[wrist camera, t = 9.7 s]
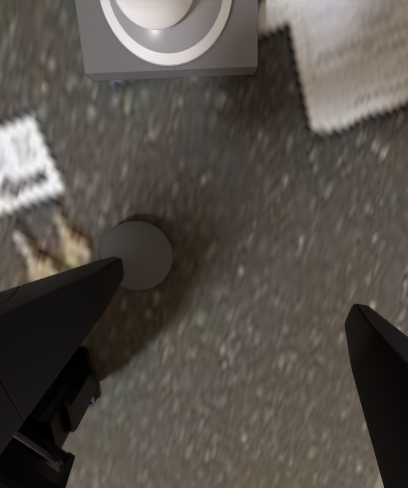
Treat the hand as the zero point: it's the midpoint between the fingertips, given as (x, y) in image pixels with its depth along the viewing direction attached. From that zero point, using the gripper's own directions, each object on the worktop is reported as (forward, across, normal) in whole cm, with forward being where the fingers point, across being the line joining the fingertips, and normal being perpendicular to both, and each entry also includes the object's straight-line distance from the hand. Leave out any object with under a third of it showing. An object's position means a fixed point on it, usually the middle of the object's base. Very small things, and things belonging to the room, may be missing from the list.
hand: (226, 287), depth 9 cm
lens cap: (+9, +9, +5) cm, 13 cm away
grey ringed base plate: (+14, +8, -13) cm, 20 cm away
